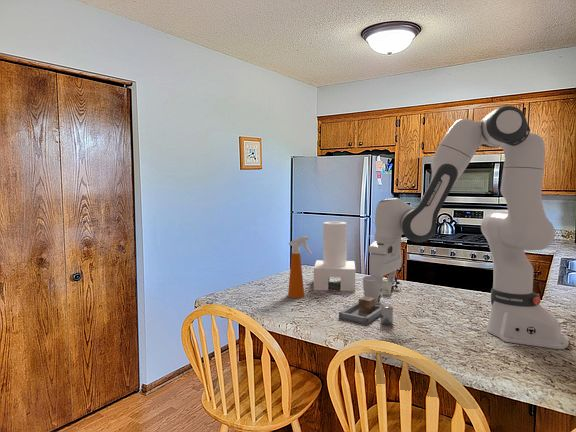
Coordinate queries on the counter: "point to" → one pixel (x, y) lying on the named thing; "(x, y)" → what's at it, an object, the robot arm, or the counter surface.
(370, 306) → the walnut block
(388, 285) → the valve
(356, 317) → the parts tray
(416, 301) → the counter surface
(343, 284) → the white cylinder stand
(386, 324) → the metal cylinder
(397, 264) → the robot arm
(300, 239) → the spray bottle
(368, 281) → the cup
